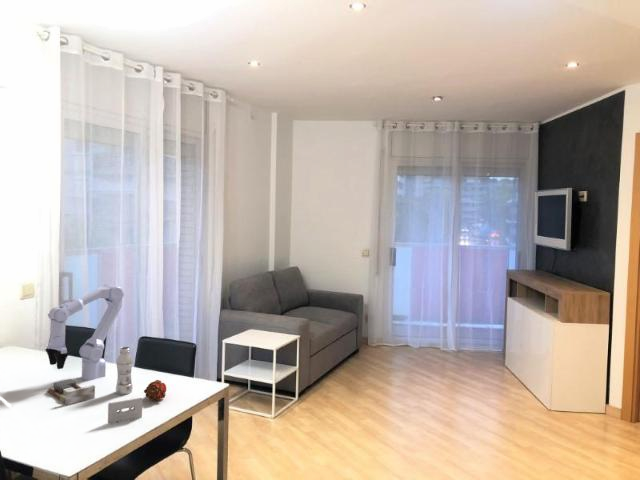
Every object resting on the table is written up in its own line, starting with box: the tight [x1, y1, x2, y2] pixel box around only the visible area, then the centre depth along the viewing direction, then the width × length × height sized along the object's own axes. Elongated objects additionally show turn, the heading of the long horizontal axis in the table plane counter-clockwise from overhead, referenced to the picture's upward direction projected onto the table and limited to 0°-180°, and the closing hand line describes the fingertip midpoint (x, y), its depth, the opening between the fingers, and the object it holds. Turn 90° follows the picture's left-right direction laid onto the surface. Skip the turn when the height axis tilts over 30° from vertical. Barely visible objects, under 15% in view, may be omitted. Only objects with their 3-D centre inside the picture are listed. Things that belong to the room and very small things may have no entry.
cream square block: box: [63, 387, 75, 395], centre depth 202 cm, size 4×4×2 cm
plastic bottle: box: [115, 346, 134, 396], centre depth 206 cm, size 6×7×20 cm
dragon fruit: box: [143, 379, 167, 402], centre depth 203 cm, size 8×8×12 cm
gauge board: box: [46, 384, 96, 406], centre depth 201 cm, size 11×20×6 cm, turn 49°
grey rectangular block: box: [53, 378, 77, 394], centre depth 205 cm, size 7×5×4 cm
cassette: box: [107, 397, 143, 425], centre depth 182 cm, size 12×2×8 cm, turn 124°
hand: (56, 366), depth 210 cm, fingers open, 7 cm apart
